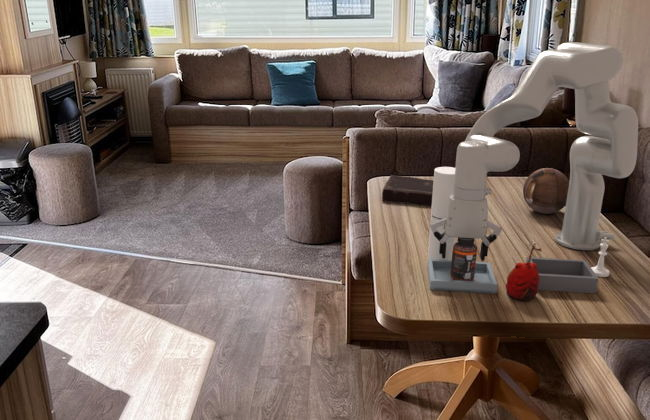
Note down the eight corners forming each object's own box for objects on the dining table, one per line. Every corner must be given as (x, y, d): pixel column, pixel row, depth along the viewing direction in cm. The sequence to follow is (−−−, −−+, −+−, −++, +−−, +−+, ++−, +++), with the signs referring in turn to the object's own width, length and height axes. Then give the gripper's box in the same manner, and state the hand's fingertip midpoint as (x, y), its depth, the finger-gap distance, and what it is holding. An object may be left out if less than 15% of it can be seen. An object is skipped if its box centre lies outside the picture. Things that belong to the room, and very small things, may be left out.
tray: (488, 271, 166) (489, 262, 166) (496, 293, 154) (497, 284, 153) (427, 267, 168) (428, 259, 167) (430, 289, 156) (430, 280, 155)
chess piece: (607, 278, 164) (614, 242, 160) (587, 274, 166) (593, 238, 163) (610, 271, 167) (617, 236, 164) (591, 267, 170) (597, 232, 167)
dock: (583, 274, 166) (585, 260, 164) (595, 293, 155) (598, 278, 154) (524, 270, 167) (526, 257, 166) (533, 289, 157) (535, 275, 155)
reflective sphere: (557, 205, 218) (563, 163, 213) (575, 220, 204) (582, 175, 199) (514, 204, 218) (519, 162, 213) (529, 220, 204) (535, 175, 199)
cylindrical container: (438, 265, 170) (445, 175, 161) (422, 255, 176) (428, 168, 167) (459, 260, 173) (467, 172, 164) (443, 251, 179) (450, 165, 170)
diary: (454, 210, 213) (456, 196, 212) (381, 202, 219) (382, 188, 218) (458, 193, 230) (459, 180, 229) (390, 187, 236) (391, 174, 235)
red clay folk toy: (530, 289, 157) (538, 233, 152) (542, 302, 150) (551, 244, 145) (500, 290, 156) (507, 234, 151) (512, 304, 150) (519, 245, 144)
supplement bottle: (474, 284, 158) (478, 242, 154) (449, 281, 159) (453, 240, 155) (473, 274, 163) (478, 233, 159) (450, 272, 164) (454, 231, 160)
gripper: (502, 189, 156) (495, 253, 162) (432, 186, 158) (427, 249, 163) (508, 199, 149) (500, 265, 155) (433, 195, 151) (428, 261, 156)
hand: (462, 257), depth 159 cm, fingers open, 9 cm apart
